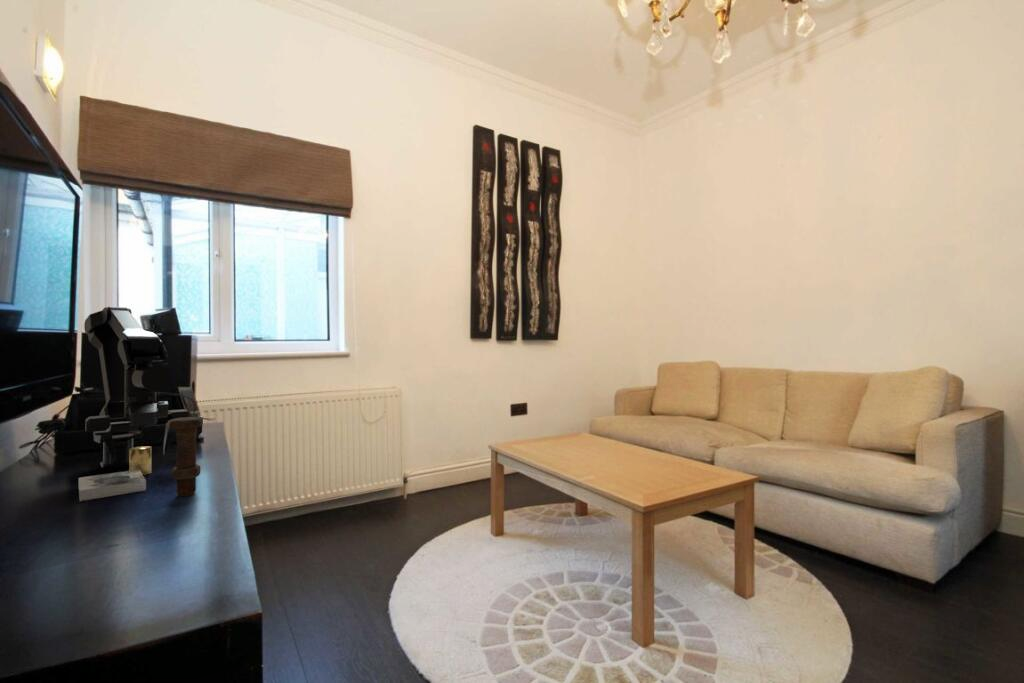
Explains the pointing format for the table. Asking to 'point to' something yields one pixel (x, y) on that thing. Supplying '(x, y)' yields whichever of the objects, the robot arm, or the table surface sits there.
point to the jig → (111, 484)
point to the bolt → (186, 454)
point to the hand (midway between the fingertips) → (140, 457)
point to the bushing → (140, 459)
